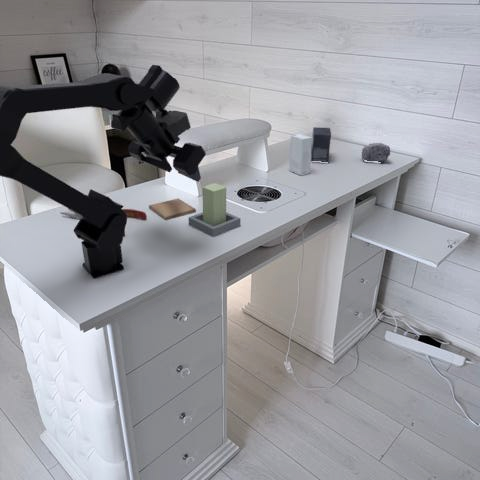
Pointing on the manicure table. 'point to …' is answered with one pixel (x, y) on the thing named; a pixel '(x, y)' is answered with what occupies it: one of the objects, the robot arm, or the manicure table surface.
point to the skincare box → (300, 154)
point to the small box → (320, 144)
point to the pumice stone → (376, 152)
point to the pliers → (129, 212)
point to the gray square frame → (230, 224)
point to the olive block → (214, 204)
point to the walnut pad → (172, 208)
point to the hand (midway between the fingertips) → (184, 175)
